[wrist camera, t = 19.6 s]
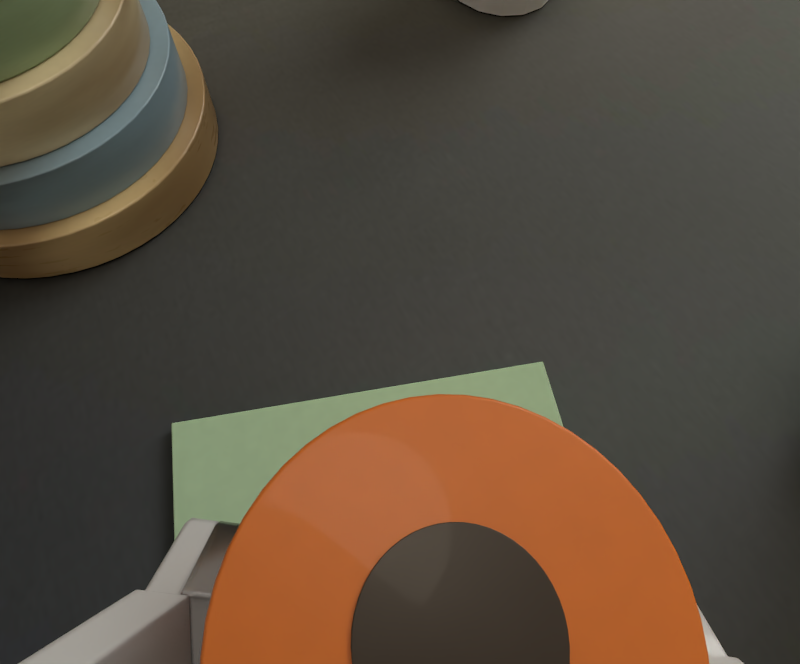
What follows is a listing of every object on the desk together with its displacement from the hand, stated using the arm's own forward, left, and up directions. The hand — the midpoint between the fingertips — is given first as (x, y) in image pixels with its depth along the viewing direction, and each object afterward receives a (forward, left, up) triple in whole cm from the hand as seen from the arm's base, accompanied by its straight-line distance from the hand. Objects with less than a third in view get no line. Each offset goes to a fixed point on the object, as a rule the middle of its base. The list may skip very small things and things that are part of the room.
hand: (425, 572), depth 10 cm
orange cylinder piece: (0, -1, -4) cm, 4 cm away
